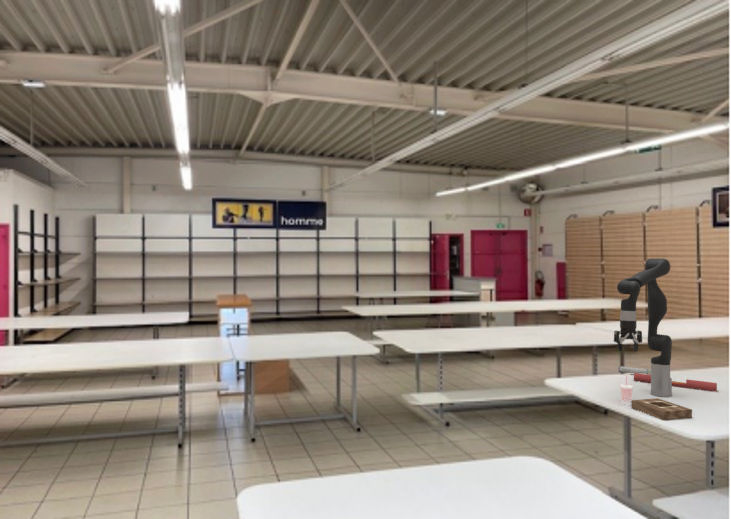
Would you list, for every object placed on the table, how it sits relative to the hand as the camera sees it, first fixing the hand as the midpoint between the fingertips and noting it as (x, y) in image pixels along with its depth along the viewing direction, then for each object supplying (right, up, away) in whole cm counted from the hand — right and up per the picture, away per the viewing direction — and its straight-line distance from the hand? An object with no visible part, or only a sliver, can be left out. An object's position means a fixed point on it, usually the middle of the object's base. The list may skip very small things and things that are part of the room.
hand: (627, 350), depth 262 cm
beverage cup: (0, -28, +1) cm, 28 cm away
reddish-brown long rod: (+48, -28, +40) cm, 68 cm away
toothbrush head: (+41, -28, +67) cm, 83 cm away
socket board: (+8, -27, -15) cm, 32 cm away
